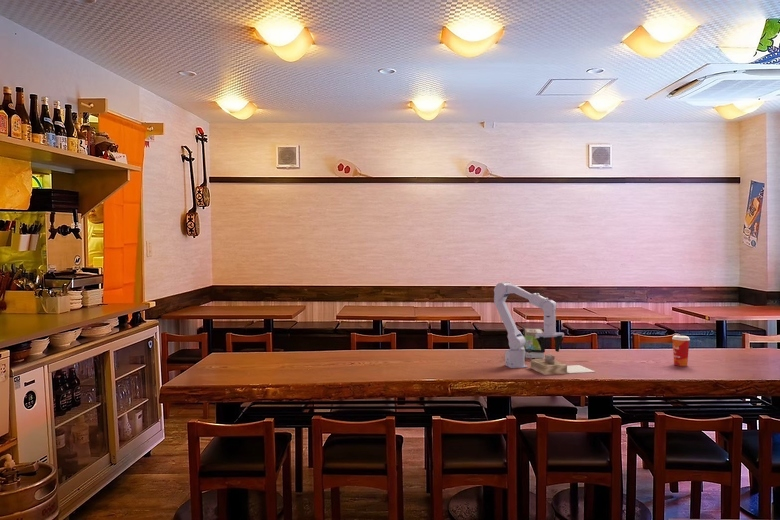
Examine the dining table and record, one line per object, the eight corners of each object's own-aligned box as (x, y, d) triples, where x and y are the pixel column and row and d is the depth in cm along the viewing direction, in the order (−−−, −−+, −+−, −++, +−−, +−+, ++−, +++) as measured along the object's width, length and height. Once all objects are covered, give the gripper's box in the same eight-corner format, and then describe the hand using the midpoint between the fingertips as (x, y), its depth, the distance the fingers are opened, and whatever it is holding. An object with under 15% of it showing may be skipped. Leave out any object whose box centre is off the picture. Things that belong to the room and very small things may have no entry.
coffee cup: (670, 362, 266) (670, 334, 266) (687, 363, 264) (688, 335, 263) (673, 366, 259) (673, 337, 258) (691, 367, 256) (691, 338, 256)
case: (544, 374, 241) (544, 365, 241) (530, 368, 255) (530, 359, 255) (567, 373, 243) (567, 364, 243) (552, 367, 257) (552, 358, 257)
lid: (545, 366, 242) (545, 358, 242) (534, 361, 253) (534, 353, 253) (565, 365, 244) (565, 357, 244) (554, 360, 255) (554, 352, 255)
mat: (568, 373, 243) (568, 372, 243) (554, 367, 257) (554, 366, 257) (595, 372, 246) (595, 371, 246) (579, 365, 259) (579, 365, 259)
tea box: (544, 359, 276) (544, 332, 275) (525, 358, 278) (525, 332, 277) (541, 353, 290) (541, 328, 290) (523, 353, 292) (523, 327, 292)
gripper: (540, 326, 243) (540, 354, 244) (567, 324, 246) (567, 352, 246) (533, 324, 250) (533, 351, 250) (559, 323, 253) (560, 349, 253)
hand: (550, 351), depth 249 cm, fingers open, 7 cm apart
